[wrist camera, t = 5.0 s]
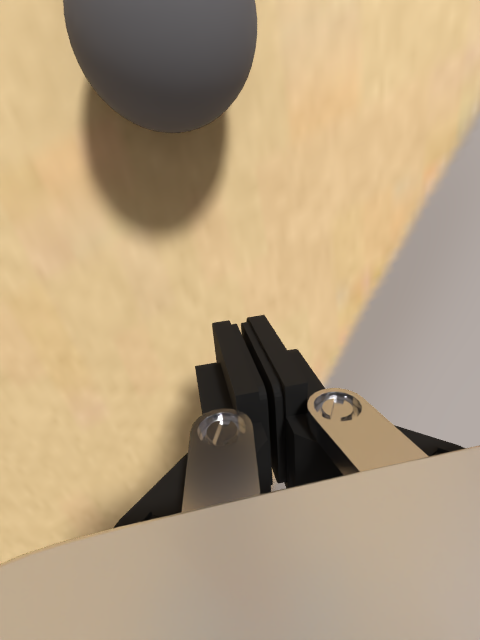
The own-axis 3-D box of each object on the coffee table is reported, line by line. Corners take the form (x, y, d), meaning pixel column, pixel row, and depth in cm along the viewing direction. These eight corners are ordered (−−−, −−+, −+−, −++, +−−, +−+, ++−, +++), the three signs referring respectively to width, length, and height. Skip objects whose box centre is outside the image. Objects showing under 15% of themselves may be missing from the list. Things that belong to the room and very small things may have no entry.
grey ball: (241, 131, 14) (285, 118, 9) (101, 143, 13) (76, 134, 9) (228, -46, 12) (278, -171, 7) (60, -46, 11) (1, -188, 6)
